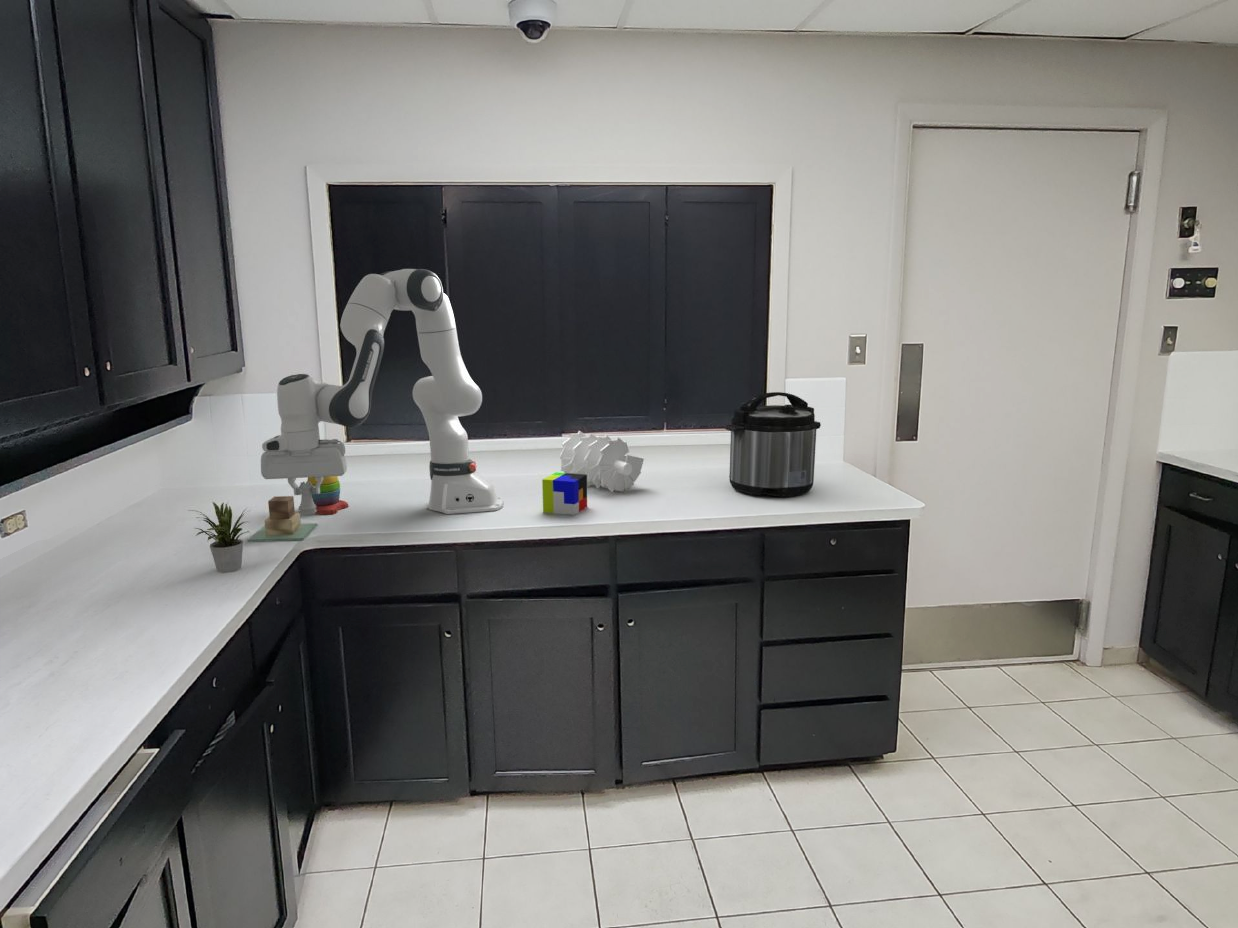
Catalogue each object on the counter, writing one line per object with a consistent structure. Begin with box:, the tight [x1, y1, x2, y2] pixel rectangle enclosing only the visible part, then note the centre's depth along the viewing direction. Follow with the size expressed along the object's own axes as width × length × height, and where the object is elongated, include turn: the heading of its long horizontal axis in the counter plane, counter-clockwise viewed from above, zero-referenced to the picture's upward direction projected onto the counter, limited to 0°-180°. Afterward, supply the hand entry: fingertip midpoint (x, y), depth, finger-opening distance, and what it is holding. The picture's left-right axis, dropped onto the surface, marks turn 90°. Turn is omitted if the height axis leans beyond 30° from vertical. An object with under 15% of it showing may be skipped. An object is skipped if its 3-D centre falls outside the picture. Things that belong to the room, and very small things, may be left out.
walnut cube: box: [267, 495, 296, 519], centre depth 218 cm, size 5×5×5 cm
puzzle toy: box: [541, 471, 588, 516], centre depth 242 cm, size 10×10×10 cm
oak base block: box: [264, 512, 302, 535], centre depth 219 cm, size 7×7×4 cm
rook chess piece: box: [298, 481, 317, 516], centre depth 207 cm, size 4×4×8 cm
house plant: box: [187, 501, 252, 573], centre depth 191 cm, size 14×14×16 cm
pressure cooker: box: [724, 391, 822, 497], centre depth 264 cm, size 30×28×32 cm
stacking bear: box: [307, 476, 349, 516], centre depth 242 cm, size 11×10×18 cm
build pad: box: [247, 522, 319, 543], centre depth 220 cm, size 14×14×1 cm
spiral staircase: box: [558, 430, 645, 493], centre depth 268 cm, size 18×18×25 cm
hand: (307, 494), depth 207 cm, fingers closed on rook chess piece, 3 cm apart
